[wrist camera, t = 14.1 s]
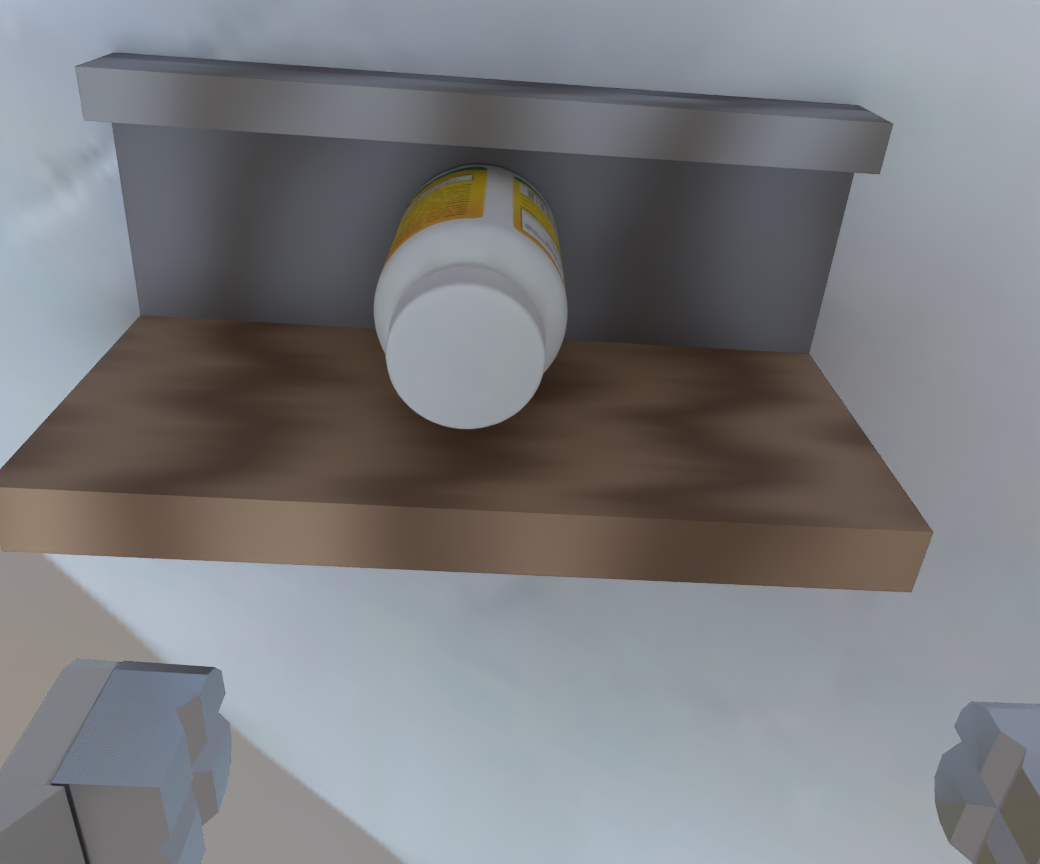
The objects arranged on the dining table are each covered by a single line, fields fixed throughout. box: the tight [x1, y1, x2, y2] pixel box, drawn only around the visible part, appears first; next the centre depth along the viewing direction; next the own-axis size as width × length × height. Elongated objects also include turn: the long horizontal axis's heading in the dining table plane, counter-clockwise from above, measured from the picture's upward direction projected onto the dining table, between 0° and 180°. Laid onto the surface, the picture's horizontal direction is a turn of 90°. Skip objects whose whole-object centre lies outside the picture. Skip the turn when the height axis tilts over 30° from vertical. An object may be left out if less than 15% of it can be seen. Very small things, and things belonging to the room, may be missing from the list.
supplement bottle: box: [374, 164, 567, 429], centre depth 26 cm, size 5×5×10 cm
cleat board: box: [0, 53, 933, 592], centre depth 26 cm, size 24×10×12 cm, turn 86°
